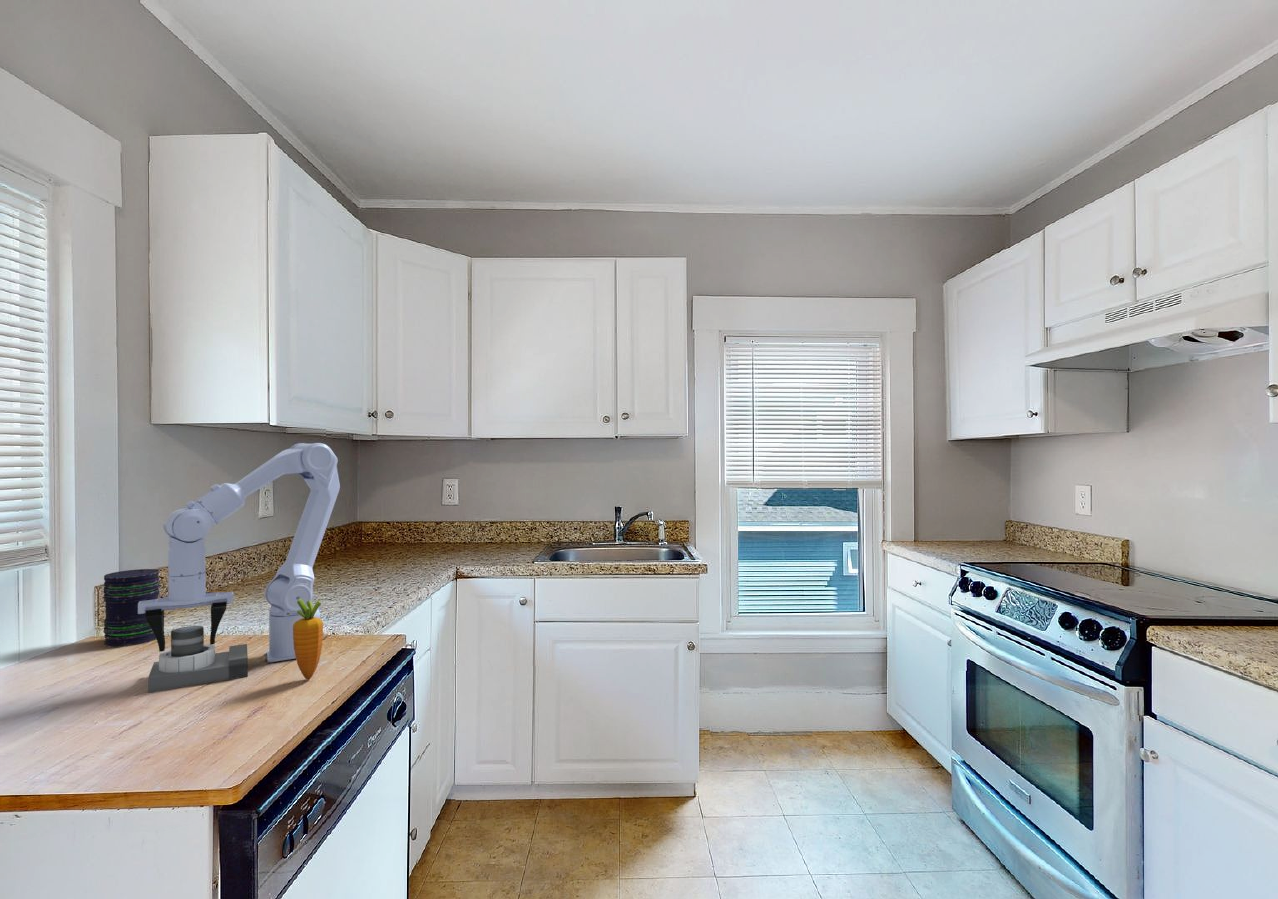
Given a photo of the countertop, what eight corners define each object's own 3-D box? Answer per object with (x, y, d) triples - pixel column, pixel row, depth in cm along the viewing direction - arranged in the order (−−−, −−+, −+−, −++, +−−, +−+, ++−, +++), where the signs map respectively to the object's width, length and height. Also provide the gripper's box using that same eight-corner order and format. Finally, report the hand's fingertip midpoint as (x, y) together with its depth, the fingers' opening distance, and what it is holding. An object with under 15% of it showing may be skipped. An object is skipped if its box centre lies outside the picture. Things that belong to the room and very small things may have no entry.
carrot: (329, 676, 121) (328, 596, 121) (308, 686, 117) (307, 603, 117) (308, 673, 123) (308, 594, 123) (286, 682, 118) (286, 600, 118)
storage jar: (136, 647, 139) (136, 577, 139) (91, 647, 139) (90, 577, 139) (170, 633, 149) (170, 569, 149) (128, 633, 149) (128, 568, 149)
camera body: (247, 661, 130) (246, 636, 130) (247, 676, 122) (247, 649, 122) (154, 675, 122) (154, 648, 122) (147, 692, 114) (147, 664, 114)
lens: (209, 659, 123) (209, 625, 123) (194, 668, 118) (194, 632, 118) (181, 660, 123) (181, 626, 123) (164, 669, 118) (164, 633, 118)
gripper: (233, 566, 128) (233, 635, 128) (141, 574, 120) (141, 647, 121) (233, 572, 122) (233, 644, 122) (136, 581, 114) (136, 657, 115)
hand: (187, 646), depth 121 cm, fingers open, 7 cm apart
